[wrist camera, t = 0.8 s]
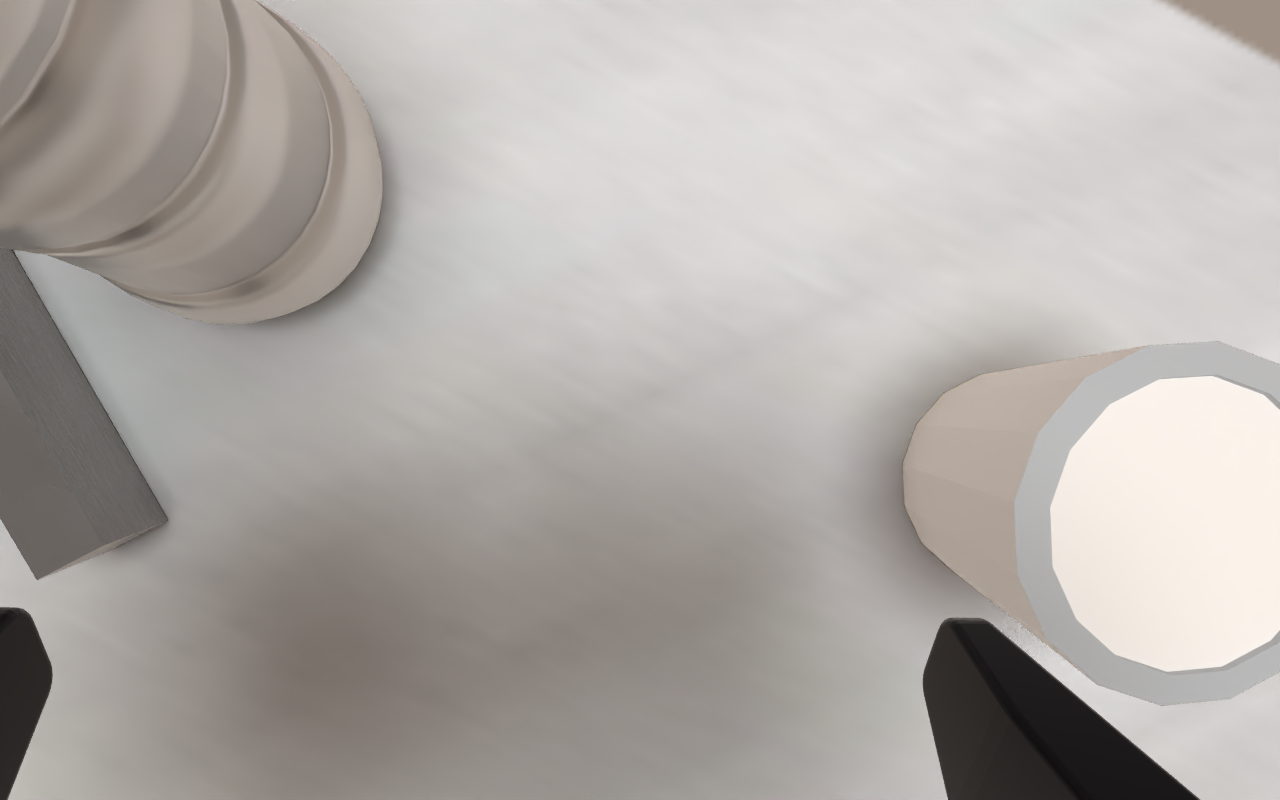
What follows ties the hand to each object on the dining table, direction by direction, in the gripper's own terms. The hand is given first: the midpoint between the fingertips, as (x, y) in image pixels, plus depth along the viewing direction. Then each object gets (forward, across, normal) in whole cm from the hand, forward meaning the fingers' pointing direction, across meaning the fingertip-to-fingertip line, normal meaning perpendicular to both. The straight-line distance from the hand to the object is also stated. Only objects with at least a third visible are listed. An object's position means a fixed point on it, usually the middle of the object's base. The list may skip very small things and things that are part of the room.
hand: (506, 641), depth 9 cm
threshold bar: (+13, +13, +4) cm, 19 cm away
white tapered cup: (+12, -12, +6) cm, 18 cm away
